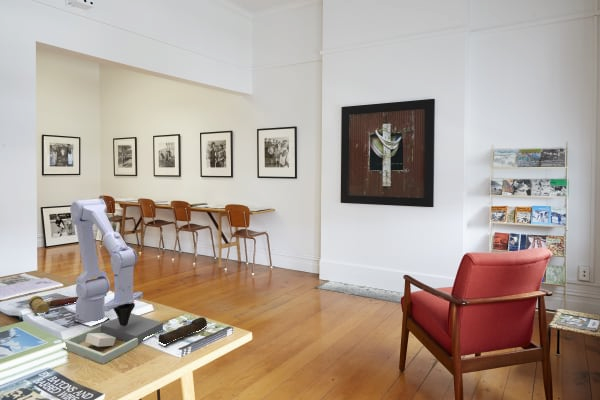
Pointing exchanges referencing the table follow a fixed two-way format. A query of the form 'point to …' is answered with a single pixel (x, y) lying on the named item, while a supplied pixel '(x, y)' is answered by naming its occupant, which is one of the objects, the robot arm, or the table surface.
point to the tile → (100, 339)
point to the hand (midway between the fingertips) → (123, 324)
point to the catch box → (95, 355)
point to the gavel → (48, 303)
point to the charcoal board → (132, 328)
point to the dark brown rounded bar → (183, 330)
